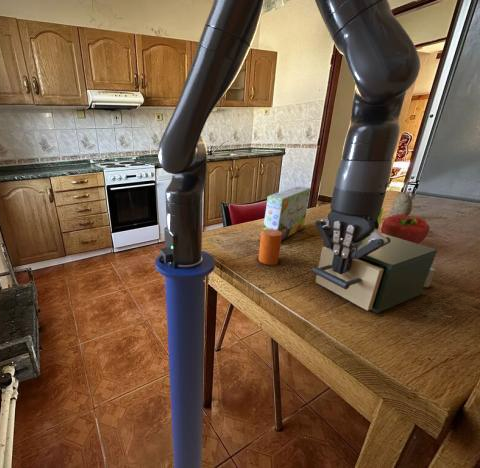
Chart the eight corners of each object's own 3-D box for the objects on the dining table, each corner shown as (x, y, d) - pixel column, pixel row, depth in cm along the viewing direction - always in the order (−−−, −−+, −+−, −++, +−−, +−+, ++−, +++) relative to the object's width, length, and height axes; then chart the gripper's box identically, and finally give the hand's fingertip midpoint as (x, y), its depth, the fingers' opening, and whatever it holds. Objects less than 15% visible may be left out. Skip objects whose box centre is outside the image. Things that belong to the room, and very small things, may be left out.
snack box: (277, 245, 81) (283, 198, 75) (261, 240, 85) (265, 195, 79) (304, 227, 94) (311, 187, 88) (289, 224, 98) (295, 185, 92)
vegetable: (429, 256, 70) (442, 221, 67) (382, 250, 75) (392, 217, 71) (414, 241, 80) (424, 210, 76) (373, 237, 84) (381, 207, 80)
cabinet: (377, 313, 50) (392, 265, 46) (319, 282, 61) (327, 240, 57) (420, 294, 55) (437, 249, 51) (359, 268, 66) (370, 229, 62)
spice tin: (267, 266, 68) (271, 237, 65) (254, 258, 73) (257, 230, 70) (282, 262, 70) (286, 233, 67) (268, 255, 75) (272, 227, 72)
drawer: (350, 318, 47) (361, 277, 44) (299, 287, 57) (305, 251, 54) (409, 293, 54) (423, 255, 51) (354, 269, 64) (362, 236, 60)
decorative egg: (384, 217, 101) (392, 192, 97) (393, 215, 103) (400, 190, 100) (402, 221, 96) (411, 195, 92) (411, 219, 98) (419, 193, 95)
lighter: (429, 287, 57) (442, 254, 54) (421, 287, 57) (434, 254, 54) (403, 271, 64) (413, 241, 61) (396, 271, 64) (405, 241, 61)
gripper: (311, 182, 49) (298, 262, 56) (389, 195, 38) (361, 294, 44) (338, 178, 52) (323, 255, 58) (418, 189, 41) (388, 283, 47)
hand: (339, 272), depth 51 cm, fingers closed
